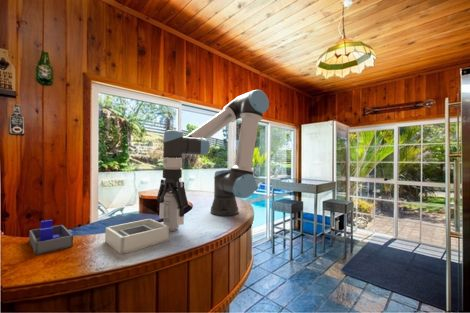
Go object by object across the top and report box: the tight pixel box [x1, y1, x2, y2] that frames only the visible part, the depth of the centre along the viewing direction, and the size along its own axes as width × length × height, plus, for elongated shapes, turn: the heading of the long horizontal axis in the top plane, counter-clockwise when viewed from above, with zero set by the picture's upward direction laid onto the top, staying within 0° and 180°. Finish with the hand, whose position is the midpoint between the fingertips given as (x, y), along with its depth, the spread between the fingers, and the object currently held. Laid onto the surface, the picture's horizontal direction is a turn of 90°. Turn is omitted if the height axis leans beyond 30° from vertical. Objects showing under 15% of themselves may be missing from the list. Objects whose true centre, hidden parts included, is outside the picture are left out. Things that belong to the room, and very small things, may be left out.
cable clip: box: [39, 219, 59, 242], centre depth 73 cm, size 12×4×6 cm, turn 41°
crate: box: [104, 218, 170, 255], centre depth 77 cm, size 16×14×5 cm
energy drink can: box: [162, 192, 180, 233], centre depth 90 cm, size 6×6×15 cm
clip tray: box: [28, 224, 74, 256], centre depth 73 cm, size 9×16×4 cm, turn 48°
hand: (170, 221), depth 90 cm, fingers open, 12 cm apart
